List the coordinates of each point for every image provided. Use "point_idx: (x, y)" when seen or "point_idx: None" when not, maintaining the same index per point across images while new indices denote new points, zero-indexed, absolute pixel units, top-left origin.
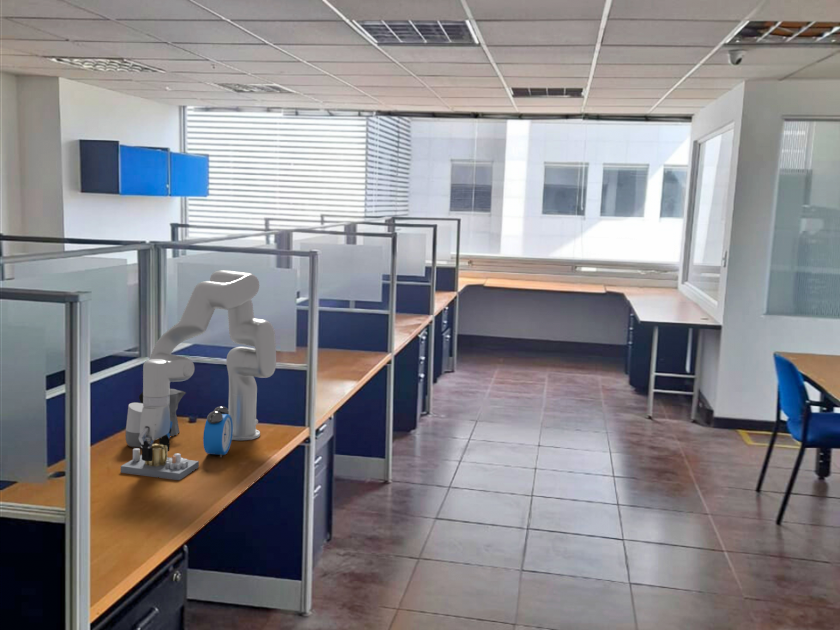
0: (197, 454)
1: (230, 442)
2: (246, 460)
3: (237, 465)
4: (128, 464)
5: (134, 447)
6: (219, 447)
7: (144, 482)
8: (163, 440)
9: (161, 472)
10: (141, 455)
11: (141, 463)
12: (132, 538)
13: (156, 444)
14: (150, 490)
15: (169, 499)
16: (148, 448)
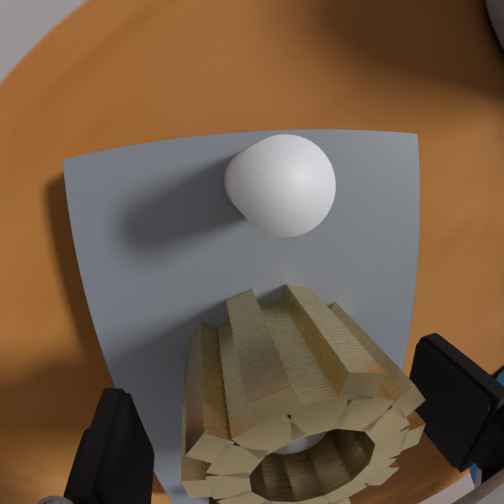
0: (500, 340)
1: None
2: (441, 475)
3: (399, 493)
4: (126, 189)
5: (489, 20)
6: (470, 470)
7: (54, 397)
8: (466, 432)
9: None
10: (390, 142)
11: (204, 279)
12: None
13: (400, 418)
14: (25, 447)
15: (37, 500)
16: None
